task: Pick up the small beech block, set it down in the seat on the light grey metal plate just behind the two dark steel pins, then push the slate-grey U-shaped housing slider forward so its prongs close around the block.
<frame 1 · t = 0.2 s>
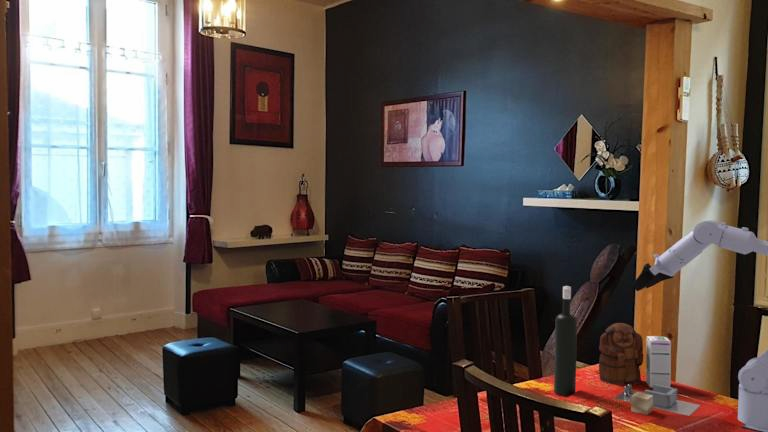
hand: (639, 286, 171), 31 cm above the table, tool tilted 45°, fingers open, 7 cm apart
wooden figurine: (621, 385, 185), on the table
housing slider: (661, 395, 168), point 3 cm above the table, slide at 0.0 cm
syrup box: (657, 388, 182), on the table
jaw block: (641, 414, 161), on the table
wine bottle: (564, 393, 178), on the table
base plate: (656, 405, 168), on the table
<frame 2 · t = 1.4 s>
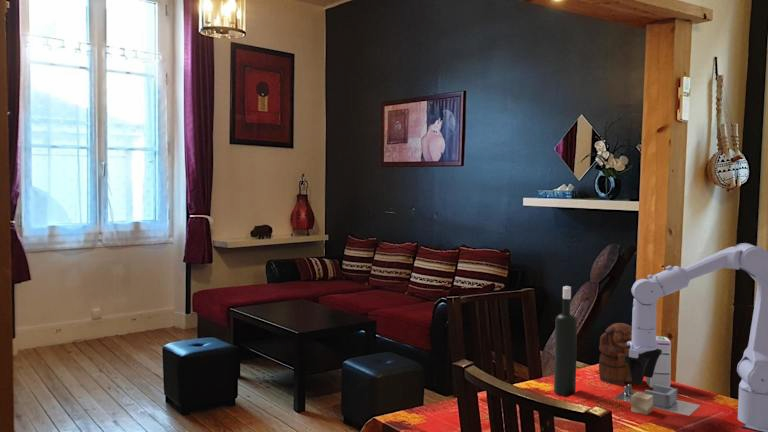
hand: (642, 380, 161), 9 cm above the table, tool pointing down, fingers open, 7 cm apart
nothing on the table moved.
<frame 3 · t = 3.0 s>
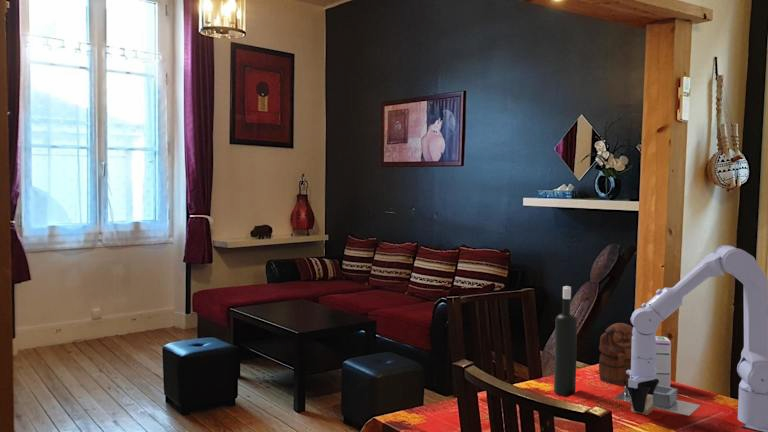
hand: (641, 409, 161), 1 cm above the table, tool pointing down, fingers closed on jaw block, 4 cm apart
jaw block: (641, 414, 161), on the table, touching gripper
everything else where it was.
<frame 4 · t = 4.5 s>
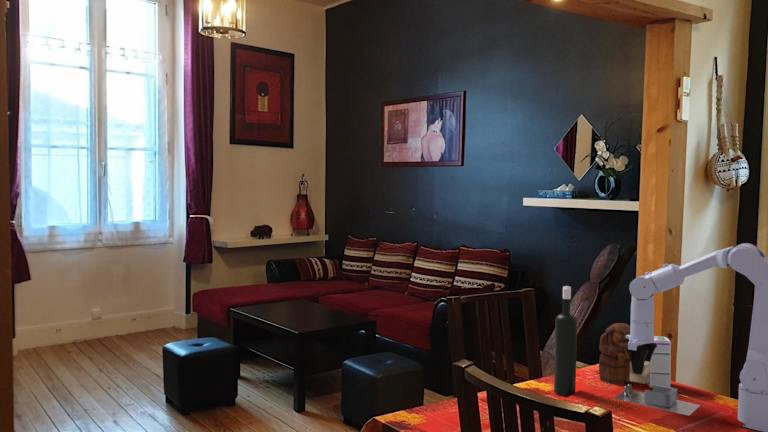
hand: (640, 371, 170), 8 cm above the table, tool pointing down, fingers closed on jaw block, 4 cm apart
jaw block: (639, 380, 170), point 6 cm above the table, touching gripper
everything else where it was.
when the fingers open (4 cm above the table, at t = 6.0 s): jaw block stays where it is, resting on base plate.
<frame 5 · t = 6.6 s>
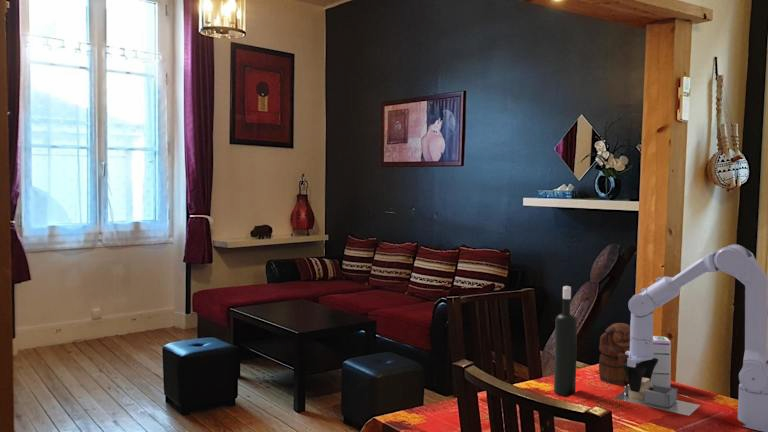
hand: (640, 387, 171), 4 cm above the table, tool pointing down, fingers open, 7 cm apart
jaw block: (639, 397, 171), point 1 cm above the table, touching base plate
everything else where it was.
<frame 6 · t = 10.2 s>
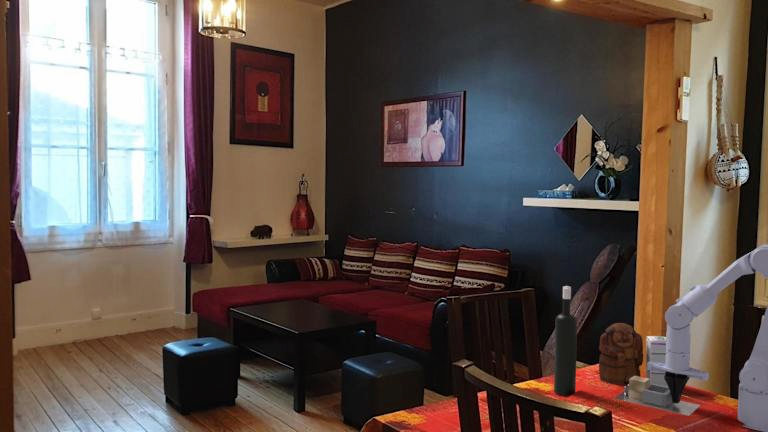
hand: (676, 402, 165), 2 cm above the table, tool pointing down, fingers closed
housing slider: (658, 394, 168), point 3 cm above the table, slide at 0.6 cm, touching gripper
everything else where it was.
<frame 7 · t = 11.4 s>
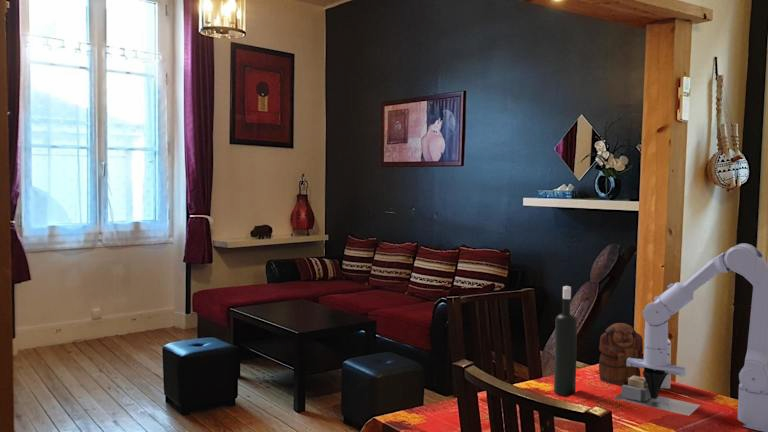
hand: (654, 397, 169), 2 cm above the table, tool pointing down, fingers closed
housing slider: (638, 390, 172), point 3 cm above the table, slide at 6.0 cm, touching gripper
everything else where it was.
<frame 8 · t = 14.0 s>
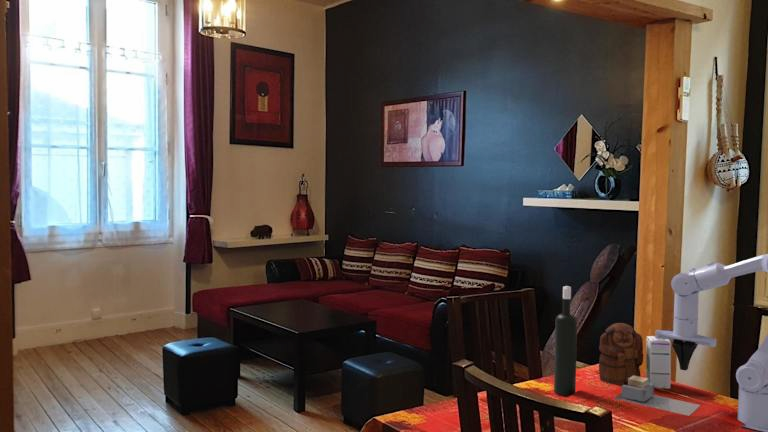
hand: (684, 369, 167), 10 cm above the table, tool pointing down, fingers closed
housing slider: (638, 390, 172), point 3 cm above the table, slide at 6.0 cm
everything else where it was.
at the end: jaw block 0.1 cm from the target spot, point 1.0 cm above the table; housing slider slide at 6.0 cm; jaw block tilted 0° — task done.
